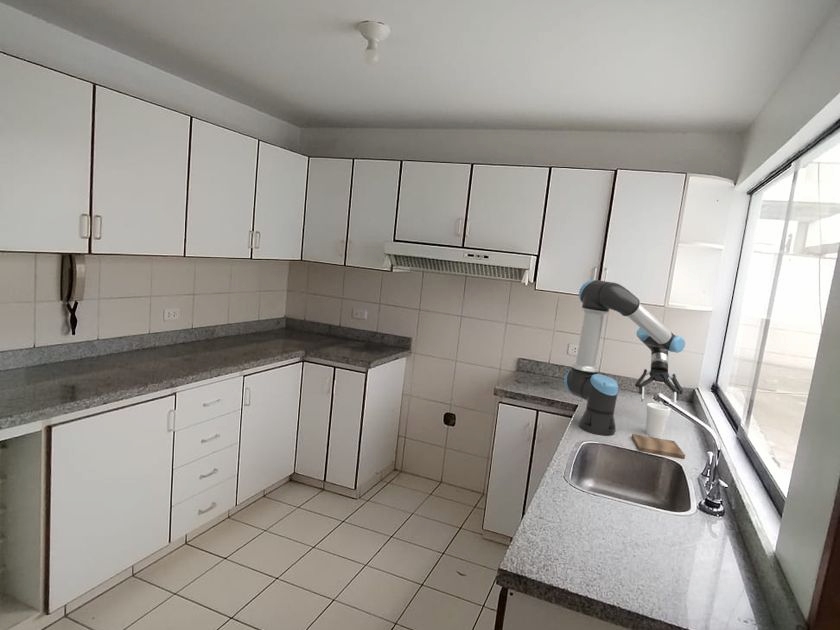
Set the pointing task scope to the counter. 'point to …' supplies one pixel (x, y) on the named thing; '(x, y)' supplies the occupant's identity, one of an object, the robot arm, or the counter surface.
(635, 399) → the counter surface
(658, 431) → the foam cup
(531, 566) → the counter surface
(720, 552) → the counter surface
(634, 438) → the walnut board
